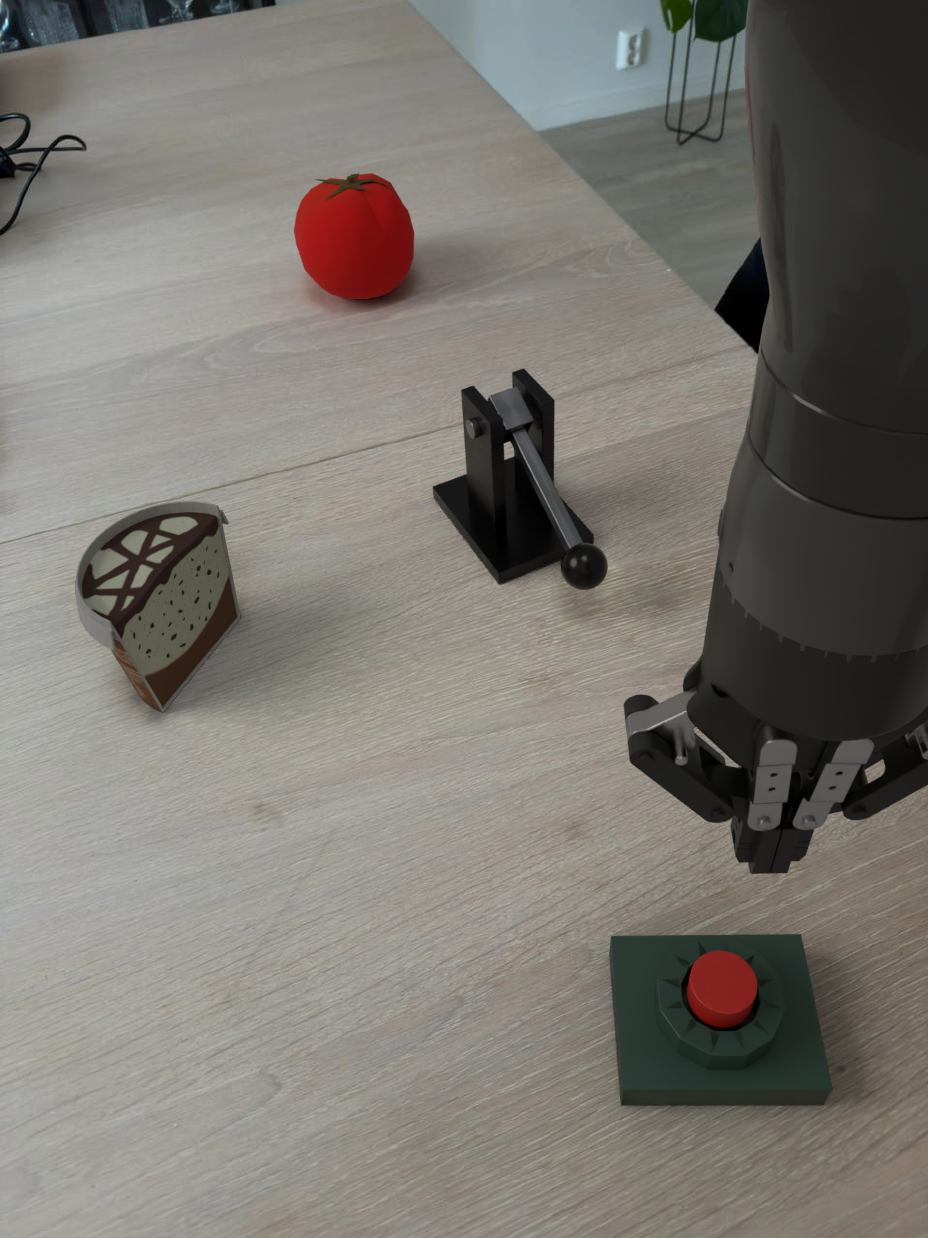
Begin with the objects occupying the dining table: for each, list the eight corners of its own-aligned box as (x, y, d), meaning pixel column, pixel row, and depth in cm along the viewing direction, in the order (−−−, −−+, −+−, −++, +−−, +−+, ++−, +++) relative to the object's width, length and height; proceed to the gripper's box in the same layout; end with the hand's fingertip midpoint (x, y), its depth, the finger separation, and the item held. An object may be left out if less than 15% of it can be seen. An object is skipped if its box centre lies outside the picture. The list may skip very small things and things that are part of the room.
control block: (794, 952, 59) (807, 917, 56) (824, 1105, 54) (840, 1076, 51) (609, 954, 60) (612, 919, 57) (620, 1105, 54) (625, 1076, 51)
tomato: (392, 326, 103) (379, 214, 94) (283, 309, 106) (261, 198, 98) (438, 262, 110) (430, 153, 102) (335, 248, 113) (319, 140, 105)
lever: (607, 586, 76) (622, 571, 73) (567, 602, 75) (580, 588, 72) (514, 402, 79) (524, 380, 76) (475, 416, 78) (483, 394, 75)
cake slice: (183, 580, 81) (147, 476, 74) (252, 604, 79) (222, 500, 72) (76, 700, 74) (24, 598, 67) (149, 729, 72) (103, 628, 65)
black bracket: (593, 546, 81) (599, 418, 73) (499, 585, 79) (493, 457, 71) (522, 464, 88) (519, 338, 79) (433, 497, 86) (420, 371, 77)
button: (747, 965, 55) (751, 950, 54) (757, 1028, 53) (762, 1013, 52) (683, 966, 55) (686, 950, 54) (690, 1028, 53) (694, 1014, 52)
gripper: (636, 656, 31) (611, 941, 43) (1122, 641, 30) (952, 936, 43) (614, 482, 36) (598, 783, 48) (1029, 466, 35) (902, 775, 48)
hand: (764, 854), depth 46 cm, fingers closed
